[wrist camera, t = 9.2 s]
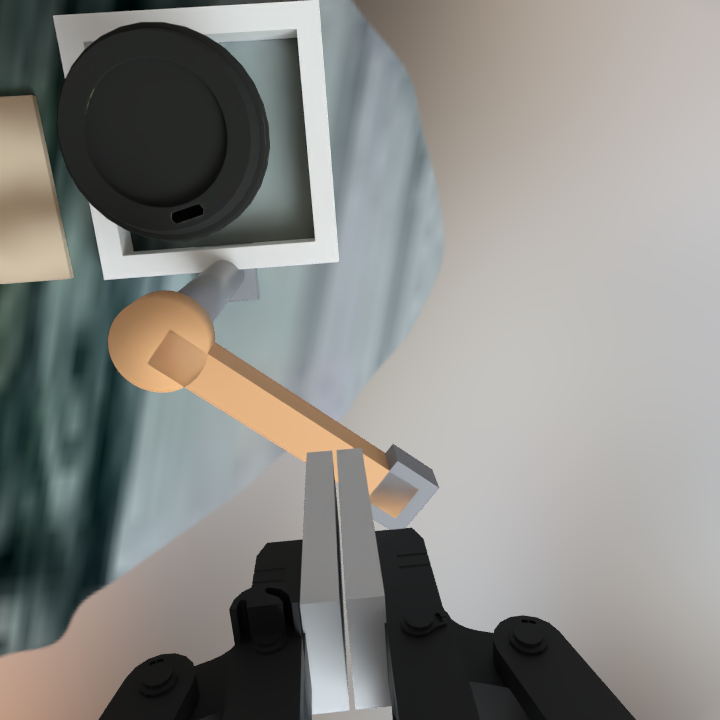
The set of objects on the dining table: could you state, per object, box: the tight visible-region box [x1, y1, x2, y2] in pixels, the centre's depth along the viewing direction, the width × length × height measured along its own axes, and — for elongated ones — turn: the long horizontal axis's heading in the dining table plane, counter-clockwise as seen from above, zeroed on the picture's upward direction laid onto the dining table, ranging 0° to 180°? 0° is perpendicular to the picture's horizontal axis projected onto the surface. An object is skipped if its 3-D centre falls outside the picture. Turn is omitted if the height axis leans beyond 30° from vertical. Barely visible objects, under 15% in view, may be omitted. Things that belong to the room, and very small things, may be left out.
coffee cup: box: [57, 22, 270, 242], centre depth 34 cm, size 10×10×15 cm
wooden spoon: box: [108, 291, 439, 530], centre depth 27 cm, size 16×4×2 cm, turn 54°
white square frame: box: [53, 0, 339, 323], centre depth 33 cm, size 18×16×18 cm
